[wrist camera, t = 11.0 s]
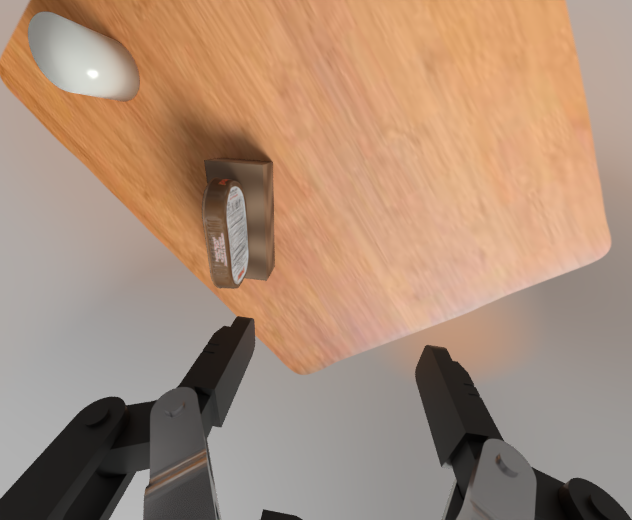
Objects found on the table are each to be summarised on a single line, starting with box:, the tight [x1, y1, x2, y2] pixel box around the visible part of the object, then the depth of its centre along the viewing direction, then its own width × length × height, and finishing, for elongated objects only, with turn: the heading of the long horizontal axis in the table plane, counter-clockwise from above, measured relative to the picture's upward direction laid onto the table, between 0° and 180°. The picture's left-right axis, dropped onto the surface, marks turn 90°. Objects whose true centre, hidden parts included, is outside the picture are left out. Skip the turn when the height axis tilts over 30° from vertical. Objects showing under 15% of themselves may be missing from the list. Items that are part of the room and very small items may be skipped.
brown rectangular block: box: [204, 158, 275, 281], centre depth 38 cm, size 18×8×5 cm, turn 176°
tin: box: [202, 178, 249, 289], centre depth 32 cm, size 15×3×8 cm, turn 176°
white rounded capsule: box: [28, 12, 140, 102], centre depth 29 cm, size 7×7×7 cm
